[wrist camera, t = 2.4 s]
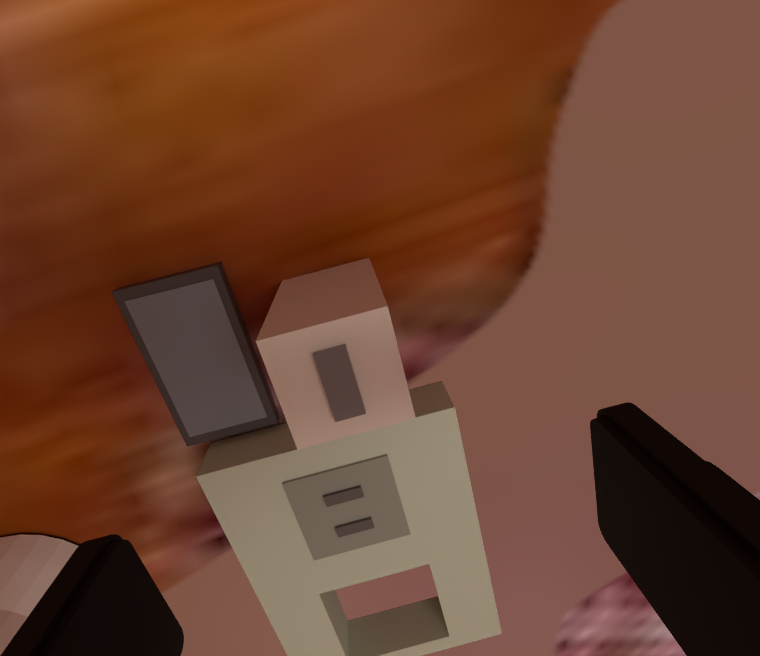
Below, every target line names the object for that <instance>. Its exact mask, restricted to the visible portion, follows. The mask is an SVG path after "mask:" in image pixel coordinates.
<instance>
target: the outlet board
mask: <svg viewBox="0 0 760 656" xmlns="http://www.w3.org/2000/svg"><path fill="white" fill-rule="evenodd" d="M409 393H410V397H411V401H412V405H413V409H414V413H415V417H416V418H414V419H411V420H407V421H403V422H399V423H396V424H392V425H388V426H385V427H381V428H377V429H373V430H370V431H366V432H362V433H359V434H355V435H351V436H347V437H344V438H340V439H336V440H333V441H329V442H325V443H321V444H318V445H314V446H310V447H306V448H303V449H299V450H297V447H296V444H295V442H294V439H293V437H292V434H291V431H290V429H289V426H288V424H287V423H283V424H280V425H276V426H272V427H268V428H265V429H261V430H257V431H253V432H250V433H246V434H242V435H239V436H235V437H231V438H227V439H224V440H220V441H216V442H212V443H210V446H209V448H208V450H207V452H206V455H205V457H204V459H203V462H202V464H201V466H200V469H199V471H198V473H197V475H196V478H197V480H198V482H199V484H200V486H201V488H202V489H203V491H204V493H205V495H206V497H207V499H208V501H209V503H210V505H211V507H212V509H213V511H214V513H215V515H216V517H217V519H218V521H219V523H220V525H221V527H222V529H223V531H224V533H225V534H226V536H227V538H228V540H229V542H230V544H231V546H232V548H233V550H234V552H235V554H236V556H237V558H238V560H239V562H240V564H241V566H242V568H243V570H244V572H245V574H246V575H247V577H248V579H249V581H250V583H251V585H252V587H253V589H254V591H255V593H256V595H257V597H258V599H259V601H260V603H261V605H262V607H263V609H264V610H265V613H266V615H267V617H268V618H269V620H270V622H271V624H272V626H273V628H274V630H275V632H276V634H277V636H278V638H279V640H280V642H281V644H282V646H283V648H284V650H285V652H286V654H287V655H288V656H422V655H426V654H429V653H433V652H437V651H440V650H444V649H447V648H451V647H455V646H459V645H462V644H466V643H470V642H473V641H477V640H481V639H484V638H488V637H491V636H495V635H499V634H502V632H501V628H500V623H499V618H498V613H497V608H496V603H495V599H494V594H493V589H492V584H491V580H490V575H489V570H488V565H487V560H486V555H485V551H484V546H483V541H482V536H481V531H480V527H479V522H478V517H477V512H476V508H475V502H474V498H473V493H472V488H471V483H470V478H469V474H468V469H467V464H466V459H465V454H464V450H463V445H462V440H461V435H460V431H459V425H458V421H457V416H456V411H455V407H454V405H453V403H452V401H451V399H450V397H449V395H448V393H447V391H446V389H445V387H444V385H443V383H442V381H440V382H436V383H433V384H429V385H425V386H422V387H418V388H414V389H410V390H409ZM427 564H429V565H430V568H431V572H432V576H433V579H434V583H435V586H436V590H437V593H438V597H434V598H430V599H427V600H423V601H419V602H416V603H412V604H408V605H405V606H401V607H397V608H394V609H390V610H387V611H383V612H379V613H375V614H372V615H368V616H365V617H361V618H357V619H353V620H350V621H347V618H346V616H345V613H344V611H343V609H342V606H341V604H340V601H339V599H338V596H337V594H336V591H335V589H339V588H343V587H346V586H350V585H354V584H357V583H361V582H365V581H368V580H372V579H376V578H380V577H383V576H386V575H391V574H394V573H398V572H402V571H405V570H409V569H412V568H416V567H420V566H424V565H427Z"/></svg>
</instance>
